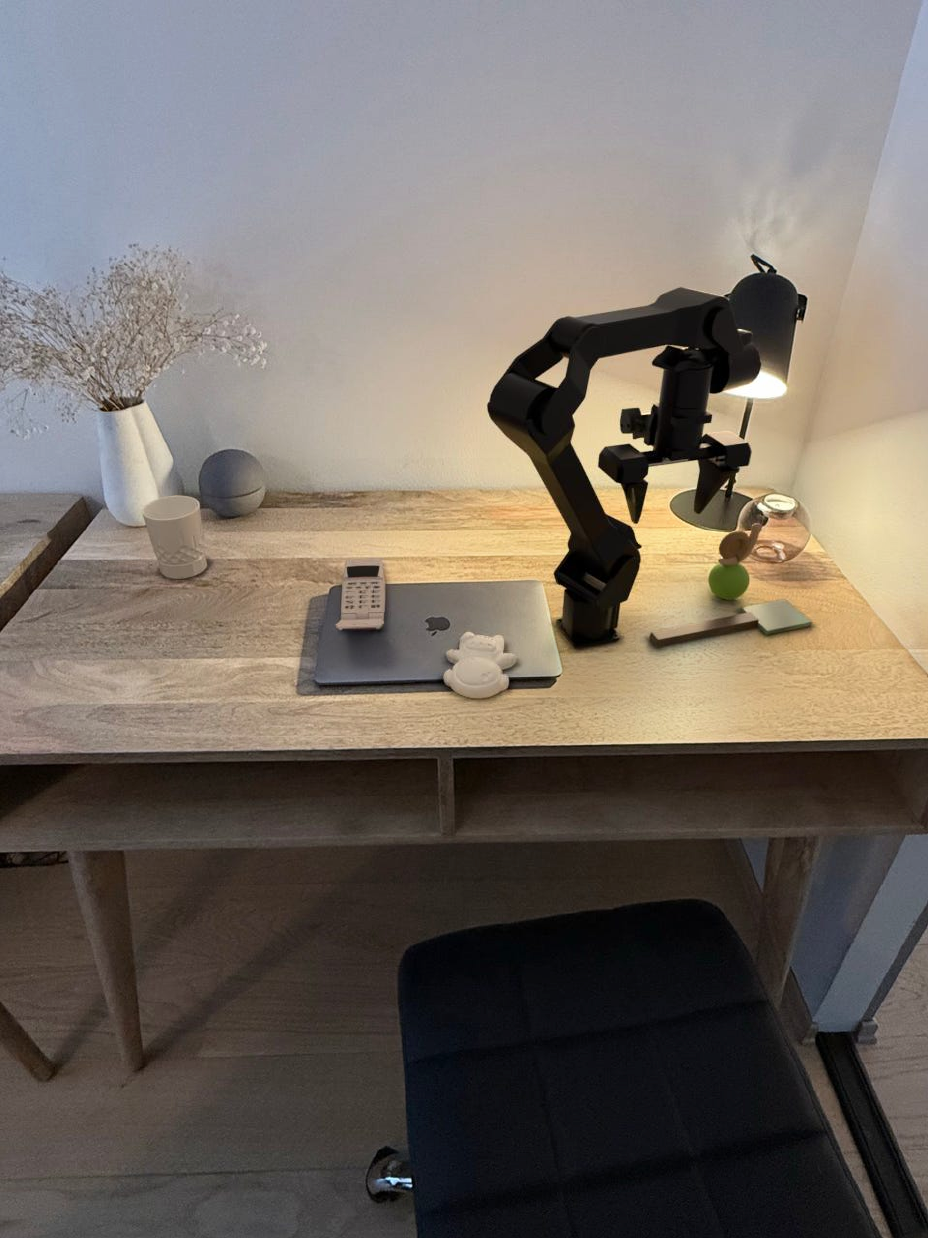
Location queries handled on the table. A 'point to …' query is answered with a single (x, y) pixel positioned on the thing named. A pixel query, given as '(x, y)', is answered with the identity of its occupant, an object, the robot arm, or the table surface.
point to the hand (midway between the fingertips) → (666, 517)
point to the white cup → (176, 535)
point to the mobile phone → (362, 594)
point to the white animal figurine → (479, 666)
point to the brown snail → (733, 563)
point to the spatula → (737, 623)
